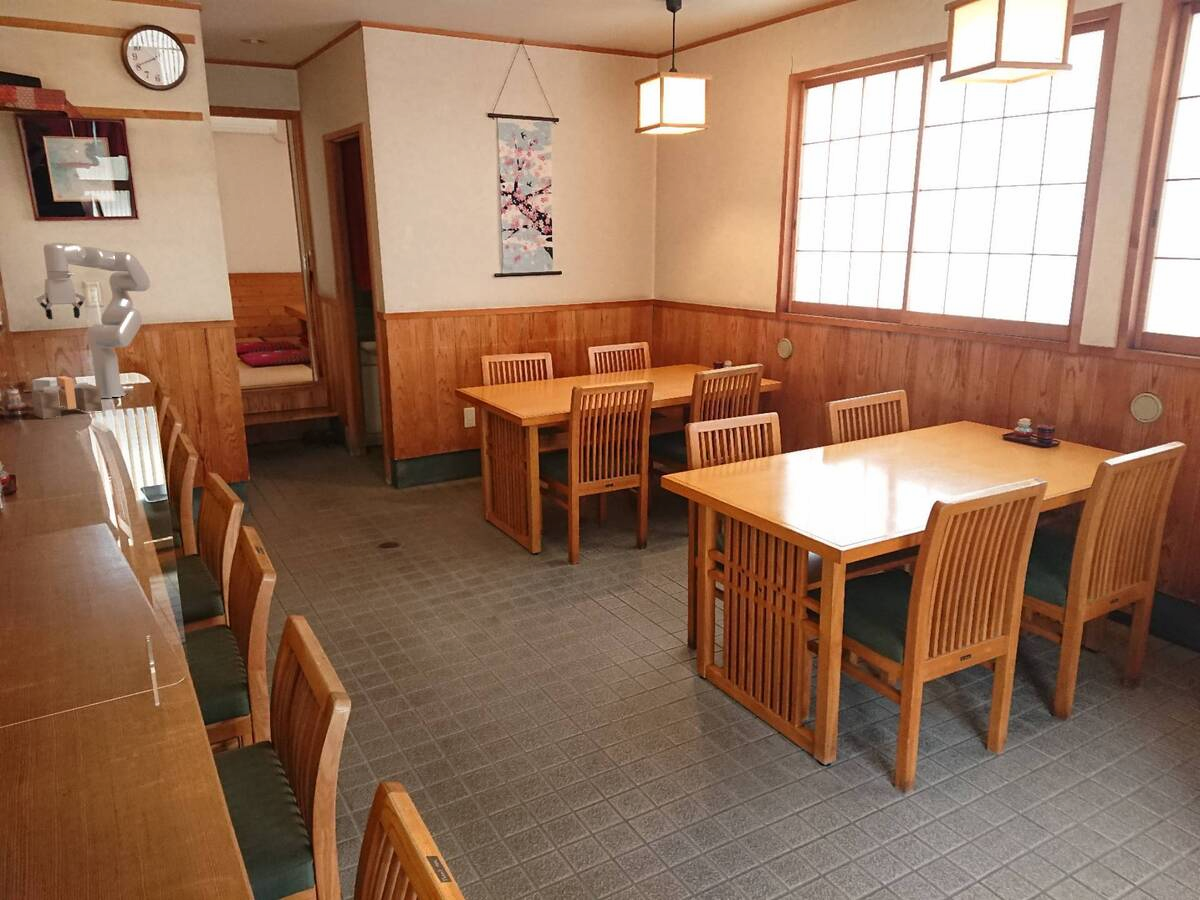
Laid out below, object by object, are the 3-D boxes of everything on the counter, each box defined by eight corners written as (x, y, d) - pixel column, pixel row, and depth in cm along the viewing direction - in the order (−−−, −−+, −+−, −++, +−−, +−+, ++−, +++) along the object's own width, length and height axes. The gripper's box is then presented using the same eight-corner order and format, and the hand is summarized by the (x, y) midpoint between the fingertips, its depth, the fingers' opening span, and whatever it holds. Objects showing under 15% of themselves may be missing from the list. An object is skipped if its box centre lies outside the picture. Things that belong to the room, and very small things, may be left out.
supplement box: (53, 411, 338) (49, 380, 335) (35, 410, 338) (31, 379, 335) (65, 407, 345) (61, 377, 342) (47, 406, 345) (43, 376, 342)
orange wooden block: (68, 405, 337) (64, 376, 334) (76, 408, 332) (72, 378, 329) (60, 406, 335) (56, 376, 332) (68, 409, 330) (64, 379, 327)
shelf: (92, 408, 345) (89, 384, 343) (102, 411, 339) (99, 387, 337) (34, 415, 330) (31, 390, 327) (43, 419, 323) (40, 393, 321)
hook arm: (86, 386, 338) (86, 382, 338) (88, 386, 337) (88, 383, 337) (42, 390, 326) (41, 387, 326) (43, 391, 325) (43, 387, 325)
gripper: (78, 274, 344) (83, 316, 348) (30, 275, 331) (36, 318, 335) (85, 275, 339) (90, 318, 343) (36, 276, 326) (42, 320, 330)
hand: (63, 318), depth 339 cm, fingers open, 9 cm apart
